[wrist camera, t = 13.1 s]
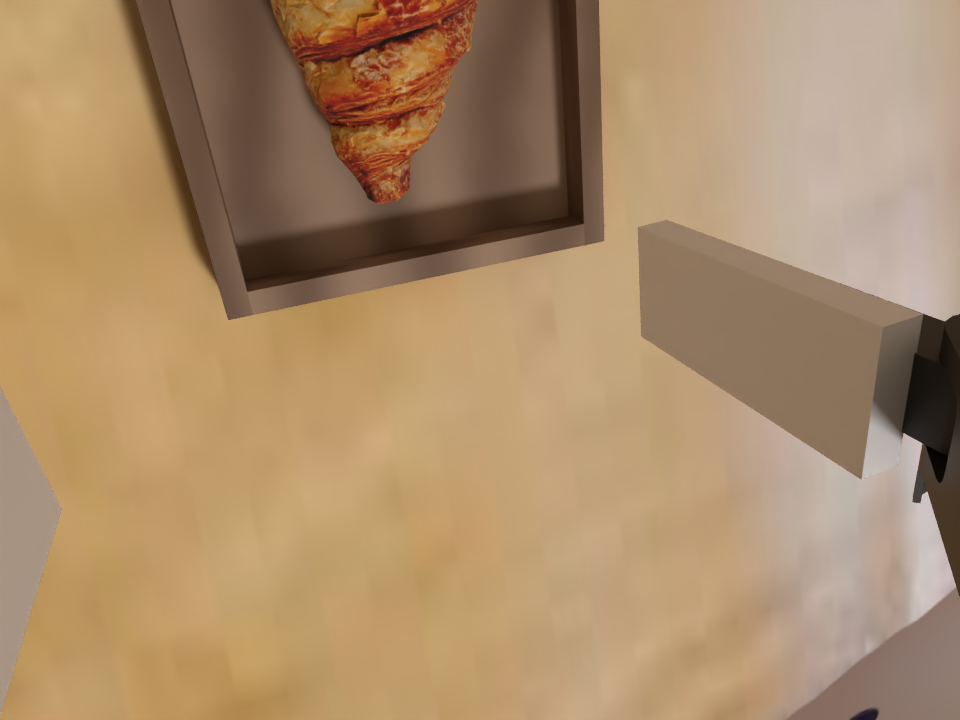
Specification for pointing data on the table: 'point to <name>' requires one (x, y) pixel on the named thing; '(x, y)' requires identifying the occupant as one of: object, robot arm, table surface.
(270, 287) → the tray
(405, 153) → the croissant
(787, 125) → the table surface
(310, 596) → the table surface
